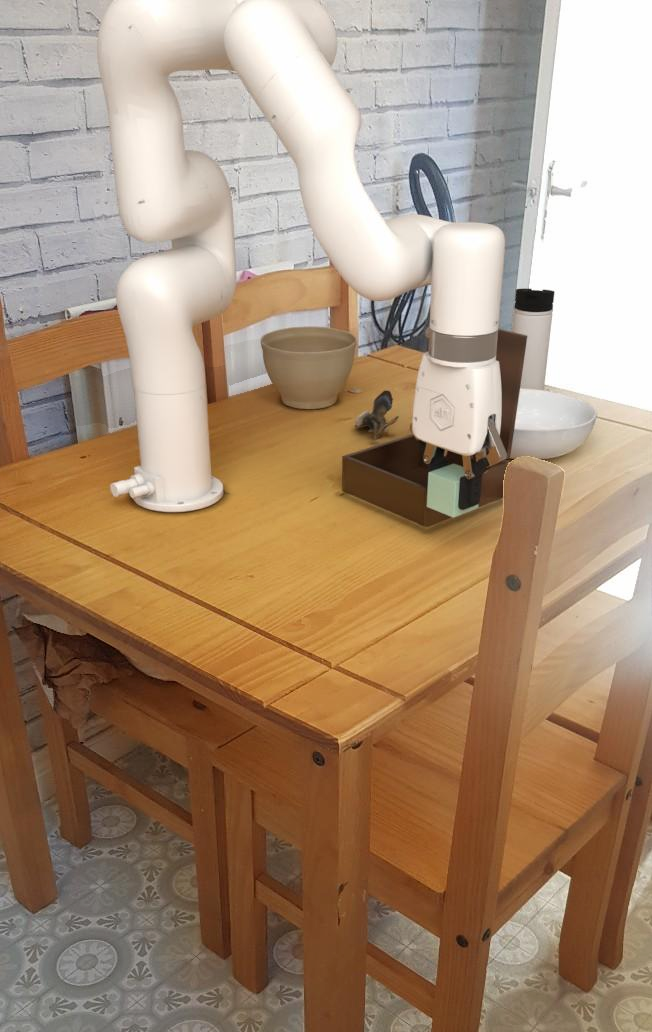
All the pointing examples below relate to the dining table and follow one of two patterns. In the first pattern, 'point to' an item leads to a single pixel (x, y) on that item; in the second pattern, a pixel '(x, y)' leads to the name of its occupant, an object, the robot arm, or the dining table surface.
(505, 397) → the lid
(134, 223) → the robot arm
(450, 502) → the block
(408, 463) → the box
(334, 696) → the dining table surface
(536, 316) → the travel mug
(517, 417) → the serving bowl
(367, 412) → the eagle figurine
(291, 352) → the planter bowl
